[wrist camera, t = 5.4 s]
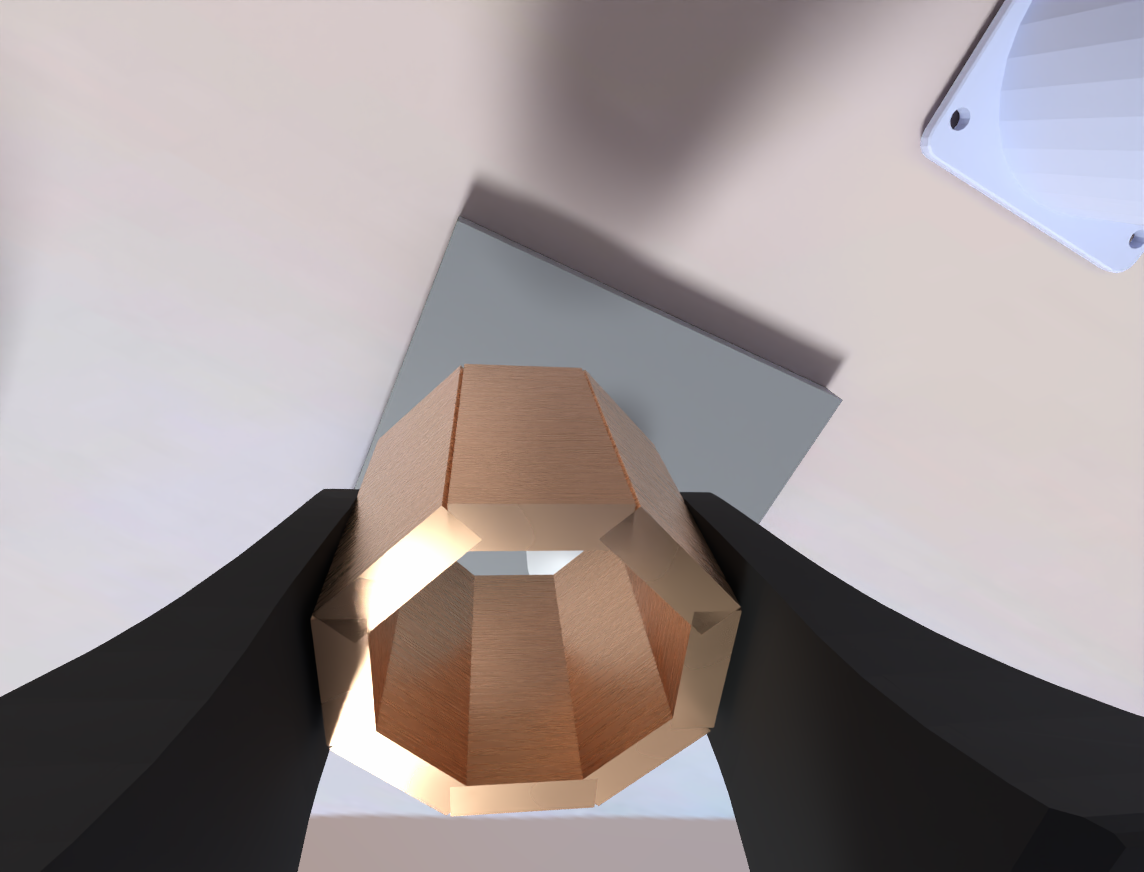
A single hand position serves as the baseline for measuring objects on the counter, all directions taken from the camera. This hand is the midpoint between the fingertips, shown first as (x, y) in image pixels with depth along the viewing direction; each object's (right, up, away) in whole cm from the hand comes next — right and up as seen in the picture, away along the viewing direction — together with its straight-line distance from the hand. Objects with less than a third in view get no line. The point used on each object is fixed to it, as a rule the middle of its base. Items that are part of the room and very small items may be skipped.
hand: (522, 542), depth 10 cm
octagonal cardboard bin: (0, +1, +1) cm, 2 cm away
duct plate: (0, 0, +9) cm, 10 cm away
